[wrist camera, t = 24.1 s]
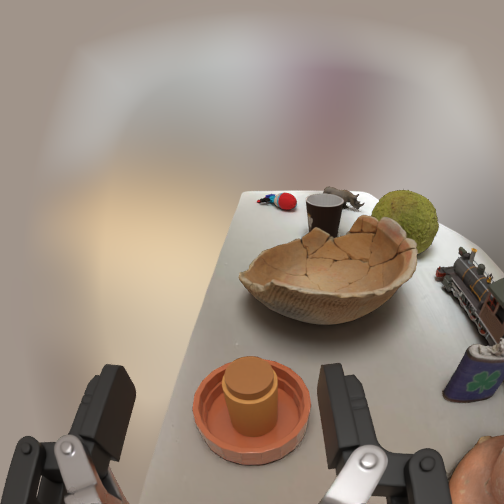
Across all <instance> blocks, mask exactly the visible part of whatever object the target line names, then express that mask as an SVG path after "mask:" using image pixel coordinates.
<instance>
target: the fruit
mask: <svg viewBox="0 0 504 504" xmlns="http://www.w3.org/2000/svg"><path fill="white" fill-rule="evenodd" d="M371 216H373V217H375V218H376V219H377V220H378V221H380V220H381V219H382V218H383V217H388V218H391V219H393V220H394V221H396V222H397V223H398V224H399V225H400V226H401V227H402V229H403V230H404V231H405V232H406V235H407V236H406V238H410V239H412V240H415V242H416V243H417V247H416V248H417V250H418V253H421V252H423V251H425V250H426V249H427V248H428V247H429V246H430V245H431V244H432V242H433V240H434V237H435V236H436V233H437V231H438V228H439V224H438V222H437V221H438V220H437V215H436V209H435V208H434V207H433V205H432V203H431V202H430V201H429V199H427V198H425V197H424V196H422V195H420V194H417V193H414V192H412V191H409V190H407V191H406V190H399V191H398V190H397V191H392V192H389V193H387V194H386V195H384V196H383V197H382V198H381V199H380V200H379V202H378V203H377V204H376V206H375V207H374V209H373V211H372V215H371Z"/></svg>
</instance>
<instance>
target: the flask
mask: <svg viewBox="0 0 504 504" xmlns="http://www.w3.org/2000/svg"><path fill="white" fill-rule="evenodd" d="M500 339H501V340H502V342H501V341H500V343H499V344H496V345H493V346H492V347H491V346H490V347H489V346H483V345H482V344H480V345H479V344H473V345H471V346H470V347H469V348H468V349H467V350H466V352H465V354H464V356H463V358H462V360H461V362H460V364H459V365H458V367H457V369H456V371H455V373H454V374H453V376H452V377H451V380H450V381H449V383H448V384H447V386H446V388H445V389H444V391H442V392H443V397H444V399H446V400H448V401H451V402H459V403H460V402H462V403H466V402H475V401H480V400H485V399H488V398H490V397H491V396H492V395H493V394H494V393H495V391H496V390H497V389H498V387H499V386H500V384H501V383H502V382H503V380H504V339H503V338H500Z"/></svg>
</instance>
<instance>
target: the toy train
mask: <svg viewBox="0 0 504 504" xmlns="http://www.w3.org/2000/svg"><path fill="white" fill-rule="evenodd" d="M476 252H477V250H476V249H474V248H472V252H471V254H470V253H467V251H466V250H465V249H463V248H462V247H460V248H459V254H460V256H462V257H460V258H459V257H458V259H457V260H456V261H455V263H454V266H452V267H441V266H439V268H437V271H436V276H437V277H444V276H445V277H444V279H443V281H442V284H443V285H444V287H445V288H446V289H447V291H448V292H450V291H453V295H454V296H455V297H458V299H459V302H460V305H461V306H462V307H463V308H465V310H466V311H467V313H468V315H469V318H470V319H471V320H472V321H474V322H475V323H476V325H477V326H478V331H479V333H480V334H481V335H482V336H485V338H486V340H487V341H488V346H489V347H490V346H491V347H492V346H493V345H496V344H499V343H500V341H501V342H502V340H501V339H500V338H503V339H504V278H502V279H500V280H498V281H496V282H494V281H493V280H492V279H493V276H492V273H491V274H490V275H489V274H488V275H489V276H490V277H489V276H488V275H487V274H486V272H485V266H484V265H483V264H479V265H478V264H477V263H476V262H475V261H474V257H475V253H476ZM473 261H474V262H475V263H476V264H477V265H478V268H477V267H476V266H475V265H474V264H473ZM440 267H441V268H440ZM484 272H485V274H486V275H487V278H486V277H485V276H484V274H483V273H484ZM491 276H492V278H491ZM488 277H489V278H488ZM491 281H493V283H492V284H491ZM462 293H463V294H462ZM467 301H468V302H467ZM466 302H467V304H466ZM469 305H470V306H469ZM468 306H469V309H467V307H468ZM471 306H472V307H471ZM475 315H476V317H475ZM478 319H479V321H478ZM476 321H478V324H477V322H476ZM485 330H486V331H487V332H485Z"/></svg>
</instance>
